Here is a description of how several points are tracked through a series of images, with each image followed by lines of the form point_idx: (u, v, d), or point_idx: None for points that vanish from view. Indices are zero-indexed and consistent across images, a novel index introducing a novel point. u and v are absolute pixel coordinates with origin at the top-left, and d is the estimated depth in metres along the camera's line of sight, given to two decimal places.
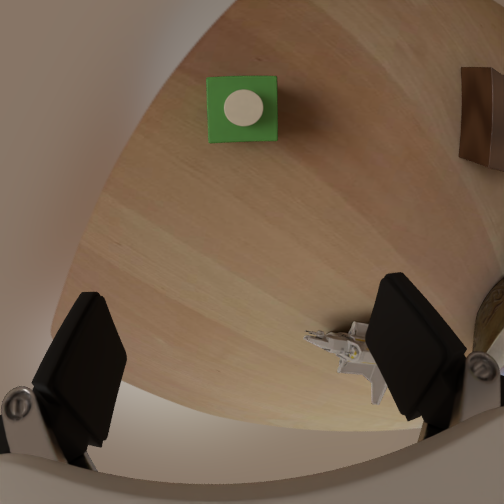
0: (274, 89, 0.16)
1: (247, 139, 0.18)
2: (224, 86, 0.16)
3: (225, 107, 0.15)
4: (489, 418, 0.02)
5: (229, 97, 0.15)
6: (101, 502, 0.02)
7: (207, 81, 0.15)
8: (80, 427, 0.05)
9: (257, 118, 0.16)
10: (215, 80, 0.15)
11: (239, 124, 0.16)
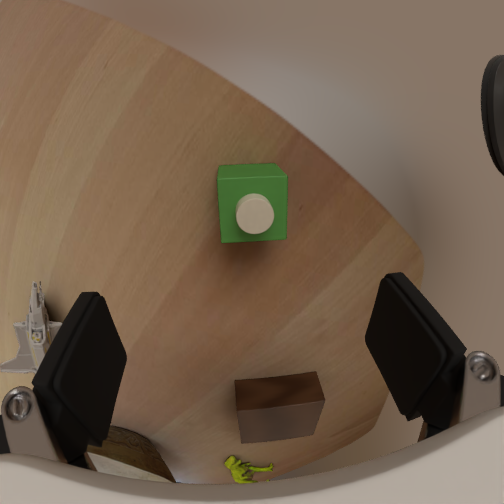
0: (273, 238, 0.20)
1: (221, 216, 0.19)
2: (277, 193, 0.18)
3: (255, 199, 0.17)
4: (489, 418, 0.02)
5: (266, 203, 0.17)
6: (101, 502, 0.02)
7: (283, 177, 0.18)
8: (80, 427, 0.05)
9: (244, 229, 0.18)
10: (283, 184, 0.18)
11: (237, 213, 0.17)
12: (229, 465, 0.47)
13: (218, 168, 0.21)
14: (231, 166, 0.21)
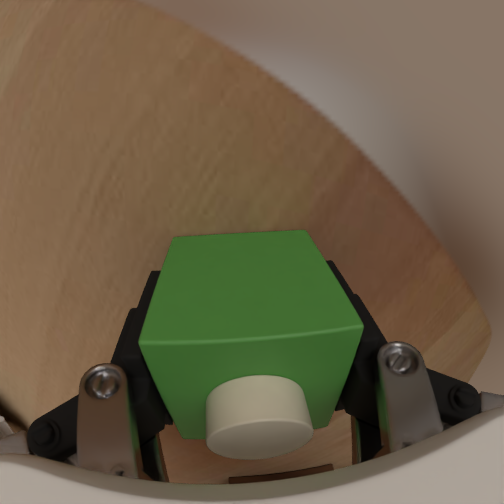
0: None
1: (171, 409, 0.06)
2: (324, 366, 0.06)
3: (263, 422, 0.05)
4: (489, 418, 0.02)
5: (295, 424, 0.05)
6: (101, 501, 0.02)
7: (352, 329, 0.05)
8: (161, 402, 0.06)
9: (231, 457, 0.05)
10: (348, 346, 0.06)
11: (210, 441, 0.05)
12: None
13: (168, 250, 0.09)
14: (199, 245, 0.09)
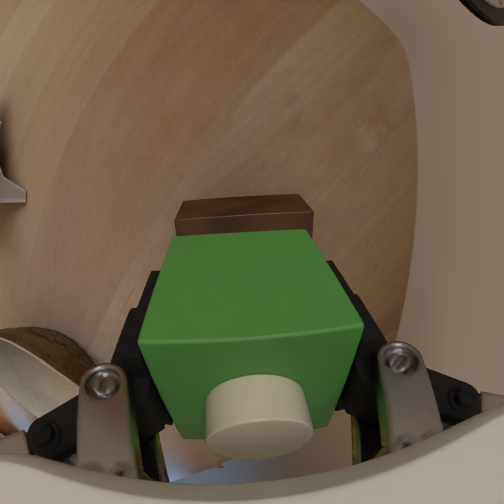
0: None
1: (171, 408, 0.06)
2: (324, 366, 0.06)
3: (263, 421, 0.05)
4: (489, 418, 0.02)
5: (295, 423, 0.05)
6: (101, 501, 0.02)
7: (352, 328, 0.05)
8: (161, 402, 0.06)
9: (230, 457, 0.05)
10: (348, 345, 0.06)
11: (209, 441, 0.05)
12: None
13: (168, 249, 0.09)
14: (199, 244, 0.09)
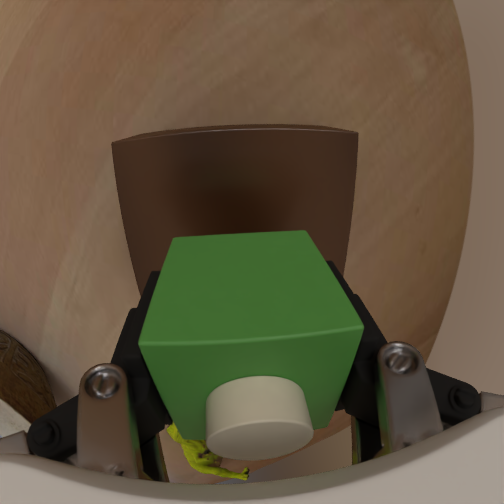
0: None
1: (171, 410, 0.06)
2: (324, 367, 0.06)
3: (263, 423, 0.05)
4: (489, 418, 0.02)
5: (295, 425, 0.05)
6: (101, 501, 0.02)
7: (352, 330, 0.05)
8: (161, 402, 0.06)
9: (231, 458, 0.05)
10: (348, 347, 0.06)
11: (210, 442, 0.05)
12: (174, 433, 0.27)
13: (168, 250, 0.09)
14: (199, 245, 0.09)
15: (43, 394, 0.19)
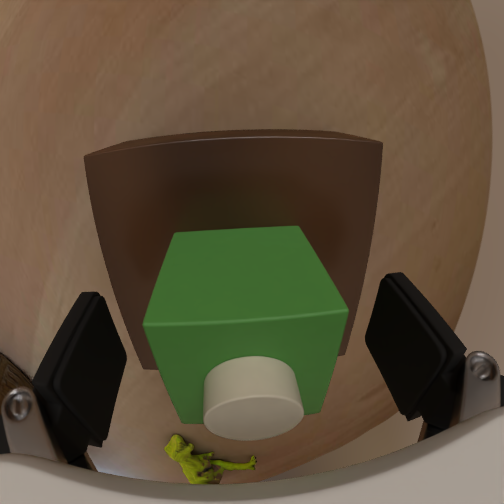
0: None
1: (171, 391, 0.07)
2: (314, 349, 0.06)
3: (256, 398, 0.05)
4: (489, 418, 0.02)
5: (286, 401, 0.05)
6: (102, 501, 0.02)
7: (337, 313, 0.06)
8: (81, 427, 0.05)
9: (227, 437, 0.06)
10: (335, 330, 0.06)
11: (207, 419, 0.06)
12: (172, 453, 0.25)
13: None
14: (199, 239, 0.09)
15: None
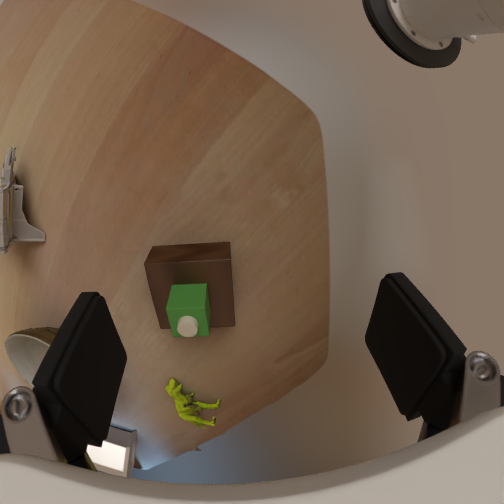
0: (201, 335, 0.33)
1: (171, 325, 0.32)
2: (199, 315, 0.32)
3: (186, 322, 0.31)
4: (489, 418, 0.02)
5: (192, 324, 0.31)
6: (101, 501, 0.02)
7: (202, 307, 0.31)
8: (80, 427, 0.05)
9: (182, 335, 0.31)
10: (203, 311, 0.31)
11: (177, 328, 0.31)
12: (169, 390, 0.50)
13: None
14: (178, 287, 0.35)
15: None
